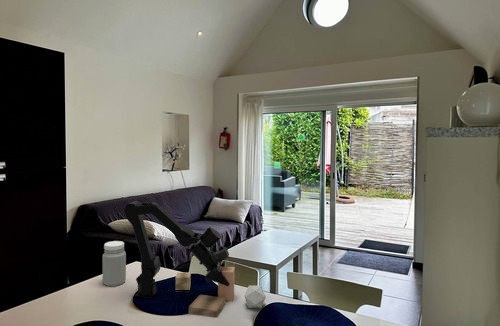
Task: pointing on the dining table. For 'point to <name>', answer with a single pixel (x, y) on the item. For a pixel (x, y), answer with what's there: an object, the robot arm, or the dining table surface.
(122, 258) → the jar
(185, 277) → the oak cube
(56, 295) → the dining table surface
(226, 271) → the pillar
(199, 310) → the slab
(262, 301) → the die
